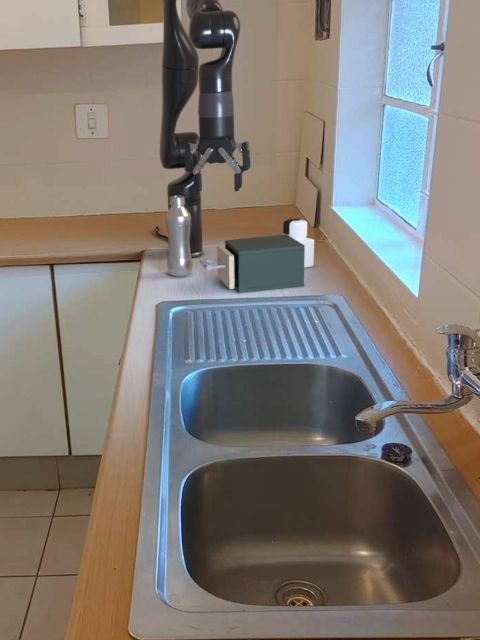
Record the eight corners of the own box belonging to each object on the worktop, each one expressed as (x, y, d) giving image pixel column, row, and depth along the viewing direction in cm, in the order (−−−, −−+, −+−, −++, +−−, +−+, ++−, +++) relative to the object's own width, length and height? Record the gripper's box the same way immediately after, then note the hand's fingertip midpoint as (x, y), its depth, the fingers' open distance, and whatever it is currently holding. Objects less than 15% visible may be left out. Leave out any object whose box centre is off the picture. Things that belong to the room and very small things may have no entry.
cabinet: (239, 292, 176) (238, 251, 173) (225, 278, 188) (224, 240, 184) (303, 286, 178) (304, 245, 175) (286, 272, 190) (286, 234, 186)
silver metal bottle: (177, 270, 198) (174, 193, 190) (198, 273, 194) (195, 195, 186) (162, 276, 194) (158, 198, 186) (183, 279, 190) (179, 199, 182)
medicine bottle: (275, 265, 197) (275, 219, 193) (298, 261, 200) (299, 215, 195) (290, 270, 191) (291, 223, 187) (314, 266, 194) (315, 220, 189)
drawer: (209, 291, 176) (208, 258, 173) (198, 278, 186) (197, 247, 183) (289, 283, 178) (289, 250, 175) (274, 271, 189) (274, 239, 186)
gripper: (252, 111, 162) (252, 187, 168) (188, 114, 166) (190, 188, 172) (246, 114, 155) (246, 193, 162) (179, 117, 160) (182, 194, 166)
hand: (217, 191), depth 167 cm, fingers open, 8 cm apart
